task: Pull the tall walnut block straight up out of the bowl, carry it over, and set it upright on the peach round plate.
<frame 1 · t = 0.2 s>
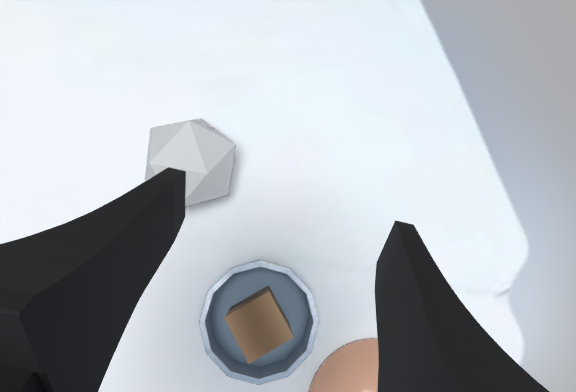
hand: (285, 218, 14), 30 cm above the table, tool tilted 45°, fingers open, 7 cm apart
walnut block: (260, 315, 43), resting on bowl
die: (197, 170, 45), on the table
bowl: (260, 314, 43), on the table, touching walnut block
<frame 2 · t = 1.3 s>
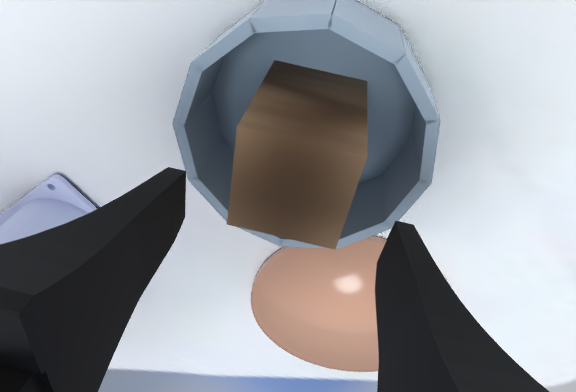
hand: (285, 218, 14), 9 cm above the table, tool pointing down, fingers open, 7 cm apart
peach round plate: (348, 306, 29), on the table
walnut block: (311, 113, 21), resting on bowl
bowl: (312, 109, 21), on the table, touching walnut block
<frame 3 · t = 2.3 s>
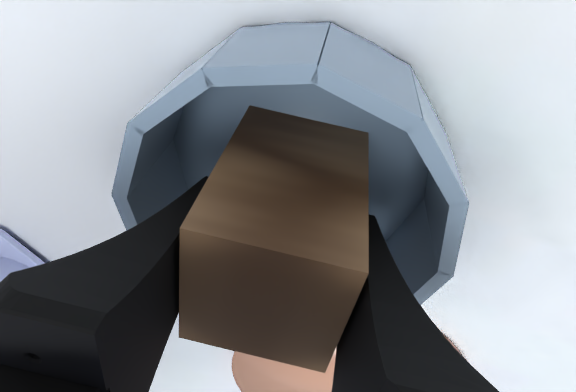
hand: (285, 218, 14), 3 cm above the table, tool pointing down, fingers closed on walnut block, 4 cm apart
peach round plate: (345, 375, 25), on the table
walnut block: (297, 168, 16), resting on bowl, touching gripper
bowl: (299, 162, 17), on the table, touching walnut block
when the fingers open (5 cm above the table, at t = 6.2 s): walnut block drops 1 cm, resting on peach round plate.
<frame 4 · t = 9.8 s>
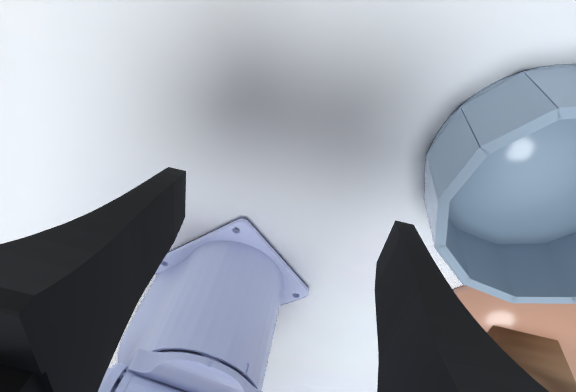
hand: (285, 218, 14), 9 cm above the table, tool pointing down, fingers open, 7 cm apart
peach round plate: (506, 342, 30), on the table
walnut block: (509, 350, 29), point 1 cm above the table, touching peach round plate
bowl: (532, 167, 21), on the table
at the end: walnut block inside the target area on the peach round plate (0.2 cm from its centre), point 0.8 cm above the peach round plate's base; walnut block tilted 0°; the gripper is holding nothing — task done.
